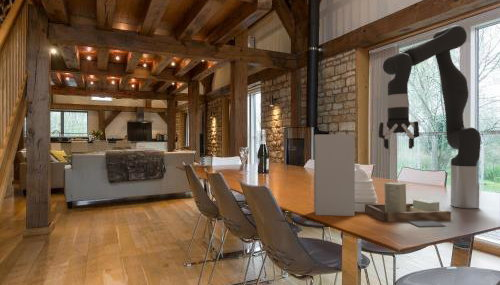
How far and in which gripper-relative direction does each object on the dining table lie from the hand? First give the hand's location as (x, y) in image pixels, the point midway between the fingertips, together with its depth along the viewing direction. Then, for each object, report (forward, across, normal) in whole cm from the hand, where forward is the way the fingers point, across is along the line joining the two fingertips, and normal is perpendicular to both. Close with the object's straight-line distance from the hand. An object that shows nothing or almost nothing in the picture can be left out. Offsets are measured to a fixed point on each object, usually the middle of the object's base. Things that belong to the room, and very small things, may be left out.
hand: (398, 148), depth 126 cm
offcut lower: (+25, -8, +4) cm, 27 cm away
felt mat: (+25, -4, +17) cm, 30 cm away
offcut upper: (+22, -8, +4) cm, 24 cm away
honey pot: (+25, +14, -4) cm, 29 cm away
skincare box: (+25, +3, +8) cm, 26 cm away
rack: (+25, 0, +6) cm, 25 cm away
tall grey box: (+24, +25, +8) cm, 36 cm away
